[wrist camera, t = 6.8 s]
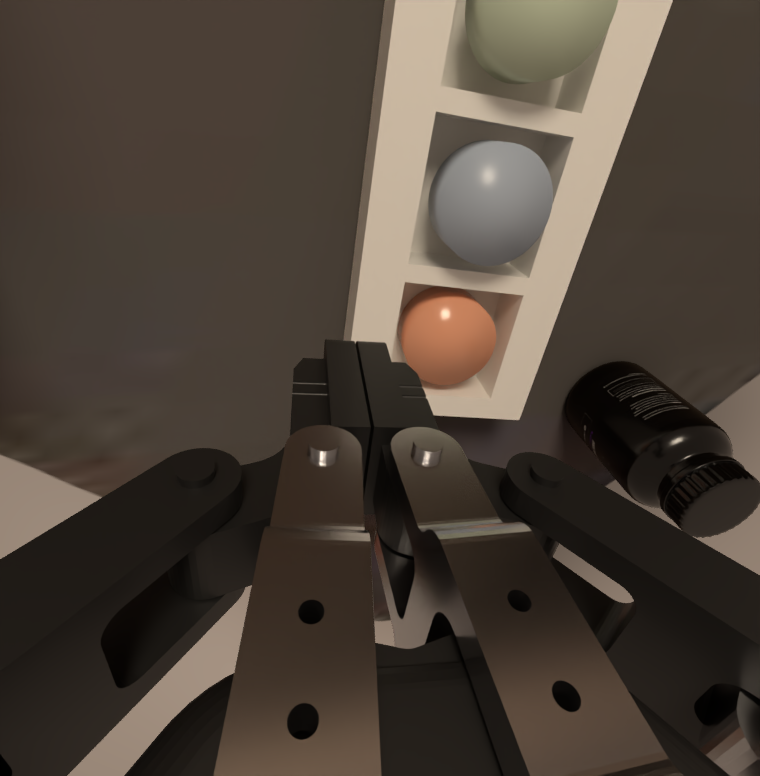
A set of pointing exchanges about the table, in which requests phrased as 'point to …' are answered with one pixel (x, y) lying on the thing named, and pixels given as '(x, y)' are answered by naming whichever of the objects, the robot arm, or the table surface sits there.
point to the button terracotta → (446, 335)
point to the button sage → (535, 36)
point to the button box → (465, 125)
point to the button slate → (490, 201)
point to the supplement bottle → (662, 449)
